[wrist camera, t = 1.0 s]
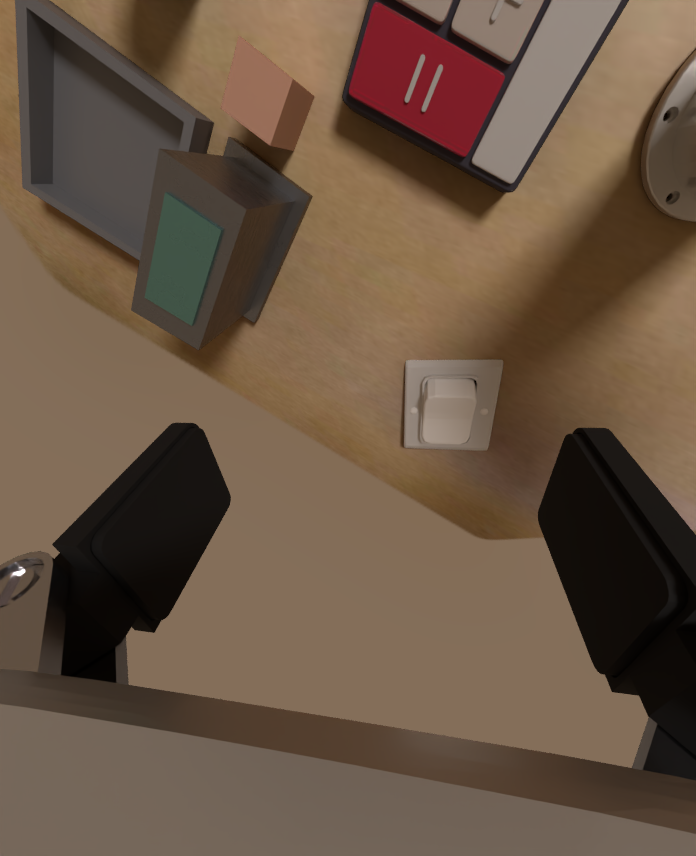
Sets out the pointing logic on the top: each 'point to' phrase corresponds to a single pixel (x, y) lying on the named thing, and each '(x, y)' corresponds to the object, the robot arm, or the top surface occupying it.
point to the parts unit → (214, 240)
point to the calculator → (475, 75)
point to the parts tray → (94, 125)
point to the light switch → (450, 403)
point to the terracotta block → (265, 98)
